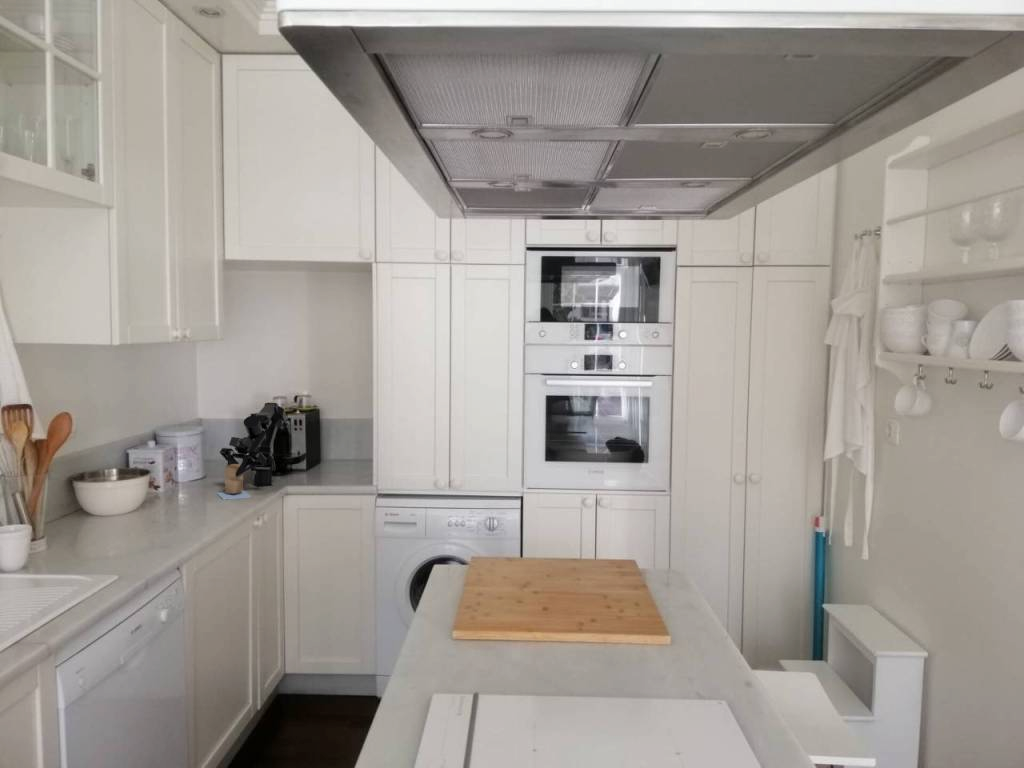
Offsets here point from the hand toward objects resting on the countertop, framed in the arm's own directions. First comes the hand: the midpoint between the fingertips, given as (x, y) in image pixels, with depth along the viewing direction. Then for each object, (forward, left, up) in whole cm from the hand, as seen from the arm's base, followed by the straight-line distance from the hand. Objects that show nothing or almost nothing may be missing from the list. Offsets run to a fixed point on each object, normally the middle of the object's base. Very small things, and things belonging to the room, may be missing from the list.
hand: (231, 474), depth 268 cm
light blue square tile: (-1, -1, -8) cm, 8 cm away
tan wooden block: (-1, -1, -7) cm, 7 cm away
